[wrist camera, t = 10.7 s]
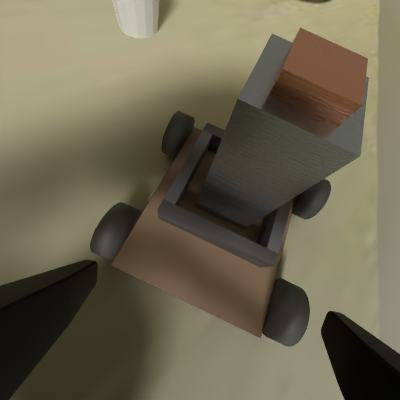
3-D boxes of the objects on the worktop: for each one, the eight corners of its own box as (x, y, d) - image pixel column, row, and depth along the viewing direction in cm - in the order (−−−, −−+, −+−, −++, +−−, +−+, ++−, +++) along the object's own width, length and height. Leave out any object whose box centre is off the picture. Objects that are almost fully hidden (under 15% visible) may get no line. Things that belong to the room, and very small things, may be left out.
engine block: (243, 229, 18) (388, 138, 6) (195, 206, 18) (248, 73, 6) (258, 186, 20) (391, 55, 8) (214, 165, 20) (283, 6, 8)
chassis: (268, 340, 17) (301, 361, 13) (99, 258, 17) (78, 252, 13) (304, 188, 23) (334, 169, 19) (181, 130, 23) (184, 99, 19)
